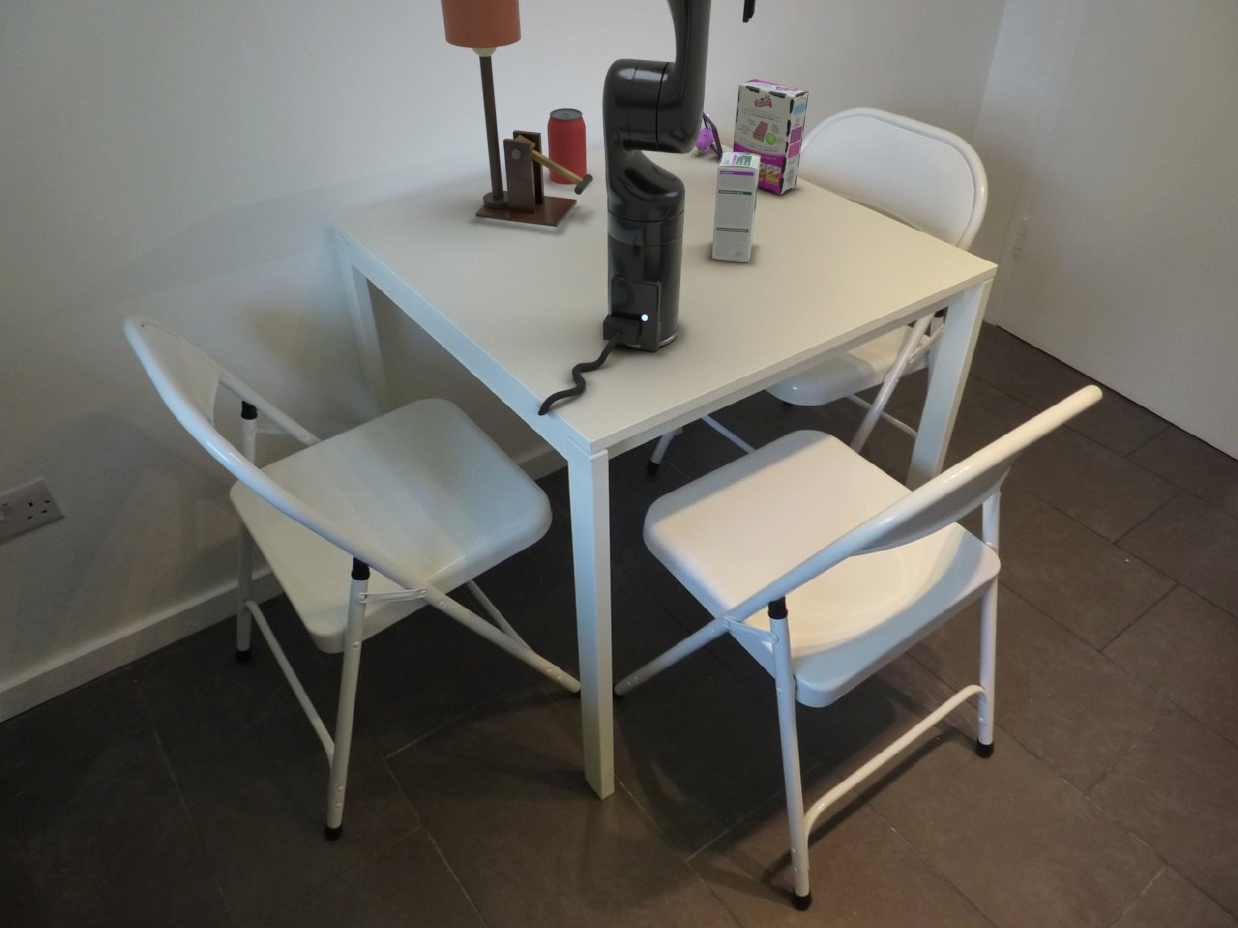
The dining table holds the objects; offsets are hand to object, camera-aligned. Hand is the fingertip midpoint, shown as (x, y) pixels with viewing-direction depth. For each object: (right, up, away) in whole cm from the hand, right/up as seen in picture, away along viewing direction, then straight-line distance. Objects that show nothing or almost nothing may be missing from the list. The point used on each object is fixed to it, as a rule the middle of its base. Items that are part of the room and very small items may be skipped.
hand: (717, 19), depth 125 cm
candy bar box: (+11, -17, +24) cm, 31 cm away
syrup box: (+3, -34, +3) cm, 35 cm away
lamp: (-35, -23, +14) cm, 44 cm away
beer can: (-24, -16, +24) cm, 38 cm away
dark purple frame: (+2, -7, +35) cm, 36 cm away
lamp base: (-30, -25, +14) cm, 42 cm away
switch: (-26, -20, +8) cm, 34 cm away
